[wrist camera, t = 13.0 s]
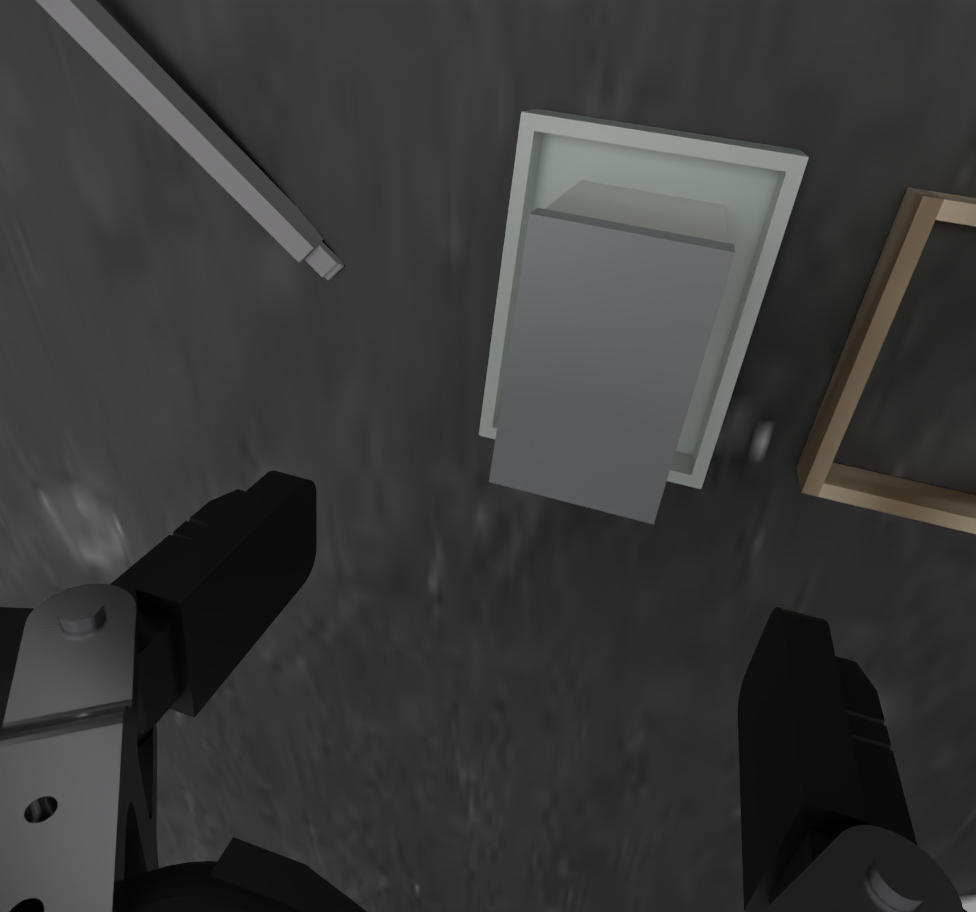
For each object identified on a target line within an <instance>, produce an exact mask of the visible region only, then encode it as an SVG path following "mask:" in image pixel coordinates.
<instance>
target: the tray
mask: <svg viewBox="0 0 976 912" xmlns="http://www.w3.org/2000/svg"><path fill="white" fill-rule="evenodd" d="M808 158H809V157H808V156H807V155H806V154H805V153H803V152H802V151H801V150H798V149H792V148H786V147H779V146H773V145H766V144H760V143H754V142H747V141H741V140H734V139H728V138H722V137H715V136H709V135H702V134H696V133H690V132H683V131H677V130H670V129H664V128H658V127H651V126H645V125H638V124H632V123H625V122H619V121H613V120H606V119H600V118H593V117H587V116H581V115H574V114H568V113H561V112H555V111H549V110H542V109H534V110H528V111H523V112H521V119H520V126H519V134H518V142H517V149H516V157H515V164H514V172H513V180H512V187H511V195H510V202H509V210H508V217H507V225H506V233H505V240H504V248H503V255H502V263H501V270H500V278H499V286H498V293H497V301H496V308H495V316H494V324H493V331H492V339H491V346H490V354H489V361H488V369H487V377H486V384H485V392H484V399H483V407H482V414H481V422H480V430H479V436H483V437H488V438H492V439H495V438H496V432H497V425H498V419H499V412H500V405H501V399H502V392H503V386H504V379H505V372H506V366H507V359H508V353H509V346H510V339H511V333H512V326H513V320H514V313H515V307H516V300H517V293H518V287H519V280H520V274H521V267H522V260H523V254H524V247H525V241H526V234H527V227H528V221H529V214H530V213H531V212H532V211H534V210H535V209H536V208H543V209H545V208H546V207H548V206H549V205H550V204H551V203H553V202H554V201H555V200H556V199H558V198H559V197H560V196H561V195H563V194H564V193H565V192H567V191H568V190H569V189H570V188H572V187H573V186H574V185H575V184H577V183H578V182H579V181H580V180H585V181H590V182H596V183H602V184H607V185H613V186H618V187H624V188H630V189H635V190H641V191H646V192H652V193H658V194H663V195H669V196H675V197H680V198H686V199H691V200H697V201H703V202H708V203H714V204H719V205H725V214H726V224H727V233H728V243H730V244H734V247H735V255H734V258H733V262H732V265H731V268H730V272H729V275H728V278H727V282H726V285H725V288H724V292H723V295H722V298H721V302H720V305H719V308H718V312H717V315H716V318H715V322H714V325H713V328H712V332H711V335H710V338H709V342H708V345H707V348H706V352H705V355H704V358H703V362H702V365H701V368H700V372H699V375H698V378H697V382H696V385H695V388H694V392H693V395H692V398H691V402H690V405H689V408H688V412H687V415H686V418H685V422H684V425H683V428H682V432H681V435H680V438H679V442H678V445H677V448H676V452H675V455H674V458H673V461H672V465H671V468H670V471H669V475H668V478H667V481H669V482H673V483H677V484H681V485H686V486H690V487H694V488H698V489H701V488H702V485H703V482H704V479H705V476H706V473H707V470H708V467H709V464H710V461H711V457H712V454H713V451H714V448H715V445H716V442H717V439H718V436H719V433H720V430H721V427H722V424H723V420H724V417H725V414H726V411H727V408H728V405H729V402H730V399H731V396H732V393H733V390H734V387H735V383H736V380H737V377H738V374H739V371H740V368H741V365H742V362H743V359H744V356H745V353H746V350H747V346H748V343H749V340H750V337H751V334H752V331H753V328H754V325H755V322H756V319H757V316H758V313H759V310H760V306H761V303H762V300H763V297H764V294H765V291H766V288H767V285H768V282H769V279H770V276H771V273H772V269H773V266H774V263H775V260H776V257H777V254H778V251H779V248H780V245H781V242H782V239H783V236H784V232H785V229H786V226H787V223H788V220H789V217H790V214H791V211H792V208H793V205H794V202H795V199H796V195H797V192H798V189H799V186H800V183H801V180H802V177H803V174H804V171H805V168H806V165H807V162H808Z"/></svg>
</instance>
